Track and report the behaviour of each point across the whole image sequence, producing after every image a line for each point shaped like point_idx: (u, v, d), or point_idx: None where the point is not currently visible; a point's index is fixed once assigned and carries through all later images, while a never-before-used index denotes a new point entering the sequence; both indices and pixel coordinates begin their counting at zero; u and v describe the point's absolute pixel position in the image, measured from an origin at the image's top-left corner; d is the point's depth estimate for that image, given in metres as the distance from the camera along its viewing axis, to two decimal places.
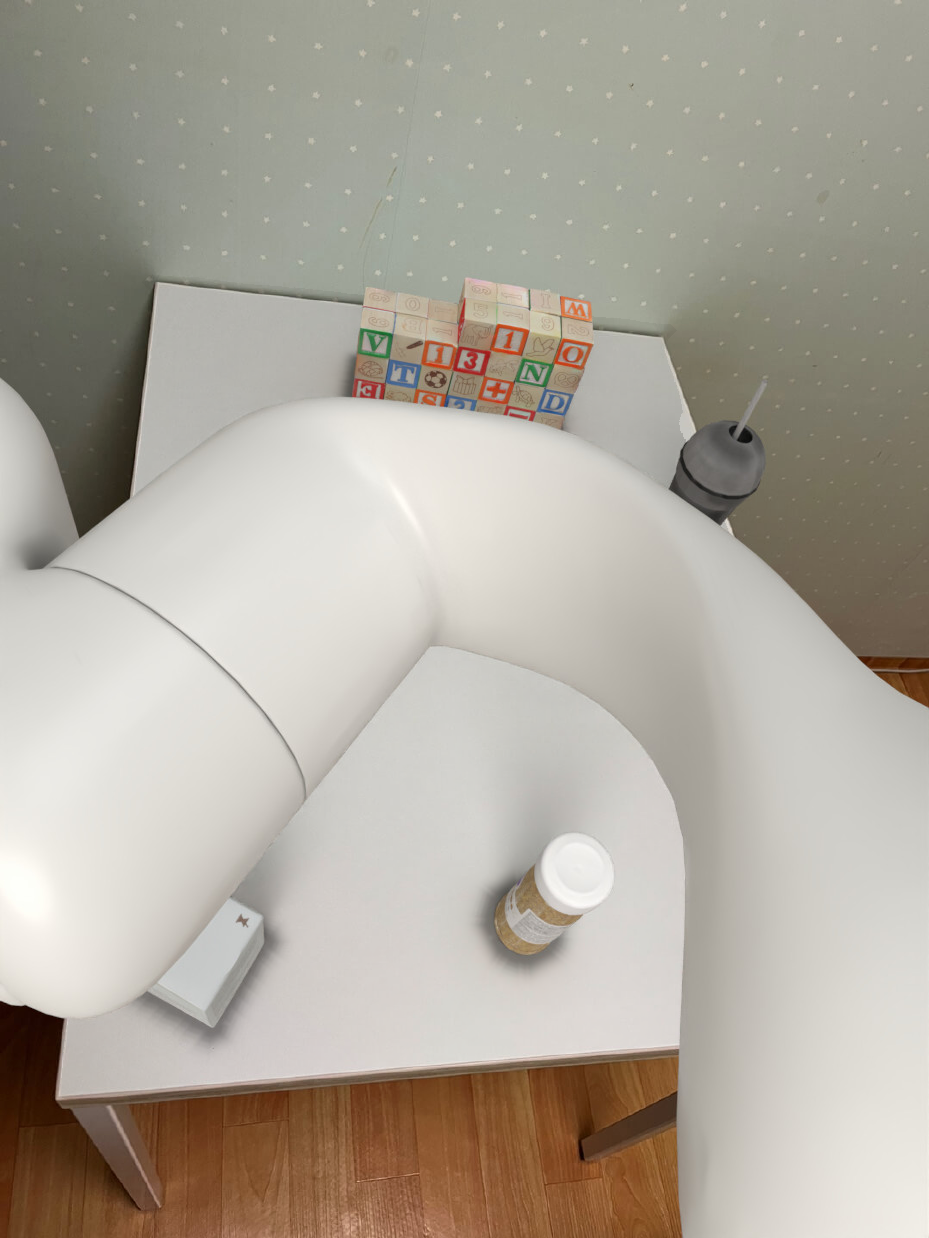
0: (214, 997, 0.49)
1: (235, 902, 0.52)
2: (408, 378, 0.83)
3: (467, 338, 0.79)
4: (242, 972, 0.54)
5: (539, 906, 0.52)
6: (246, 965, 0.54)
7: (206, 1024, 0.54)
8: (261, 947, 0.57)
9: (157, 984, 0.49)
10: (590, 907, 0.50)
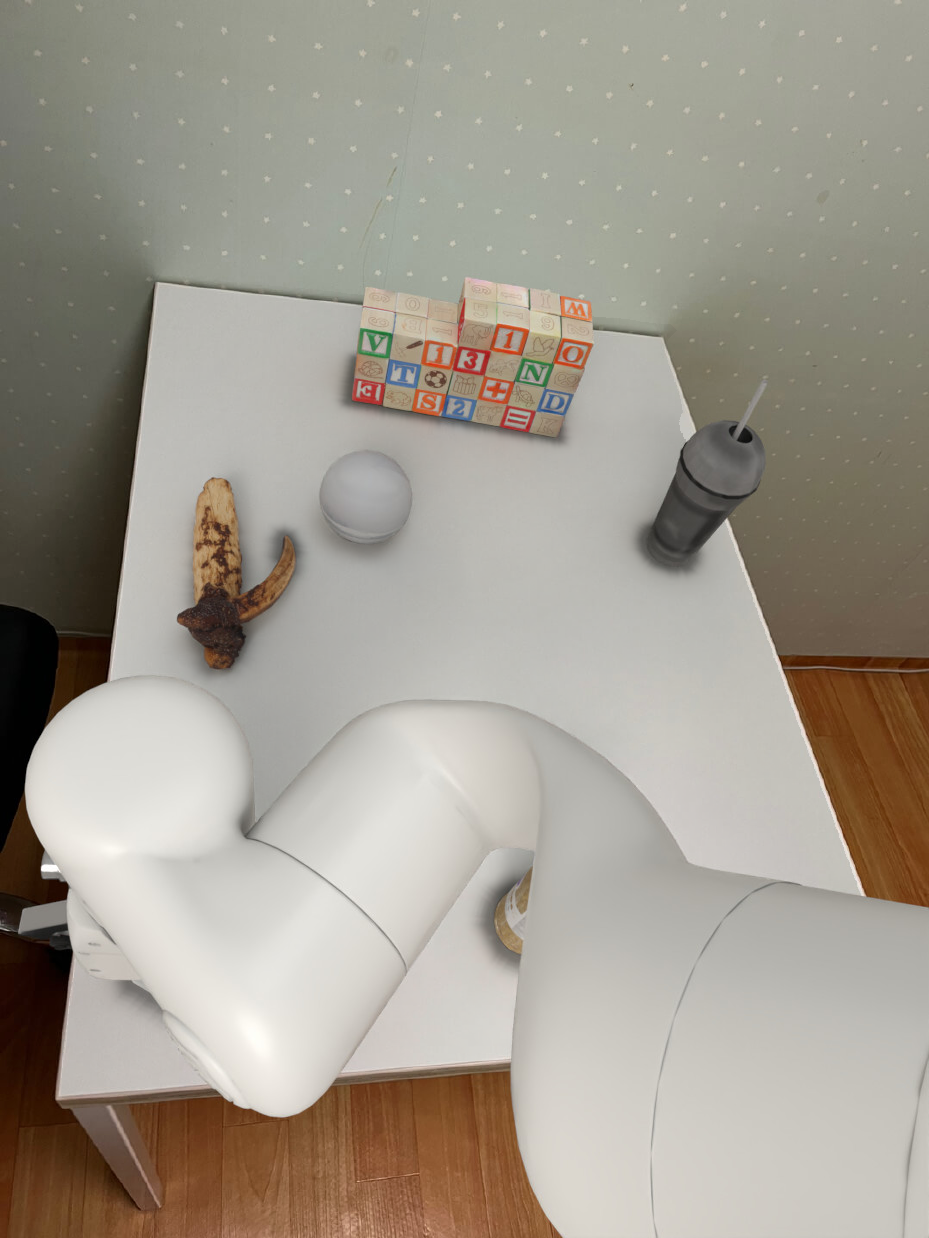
0: None
1: None
2: (408, 378, 0.83)
3: (467, 337, 0.79)
4: None
5: None
6: None
7: None
8: None
9: None
10: None
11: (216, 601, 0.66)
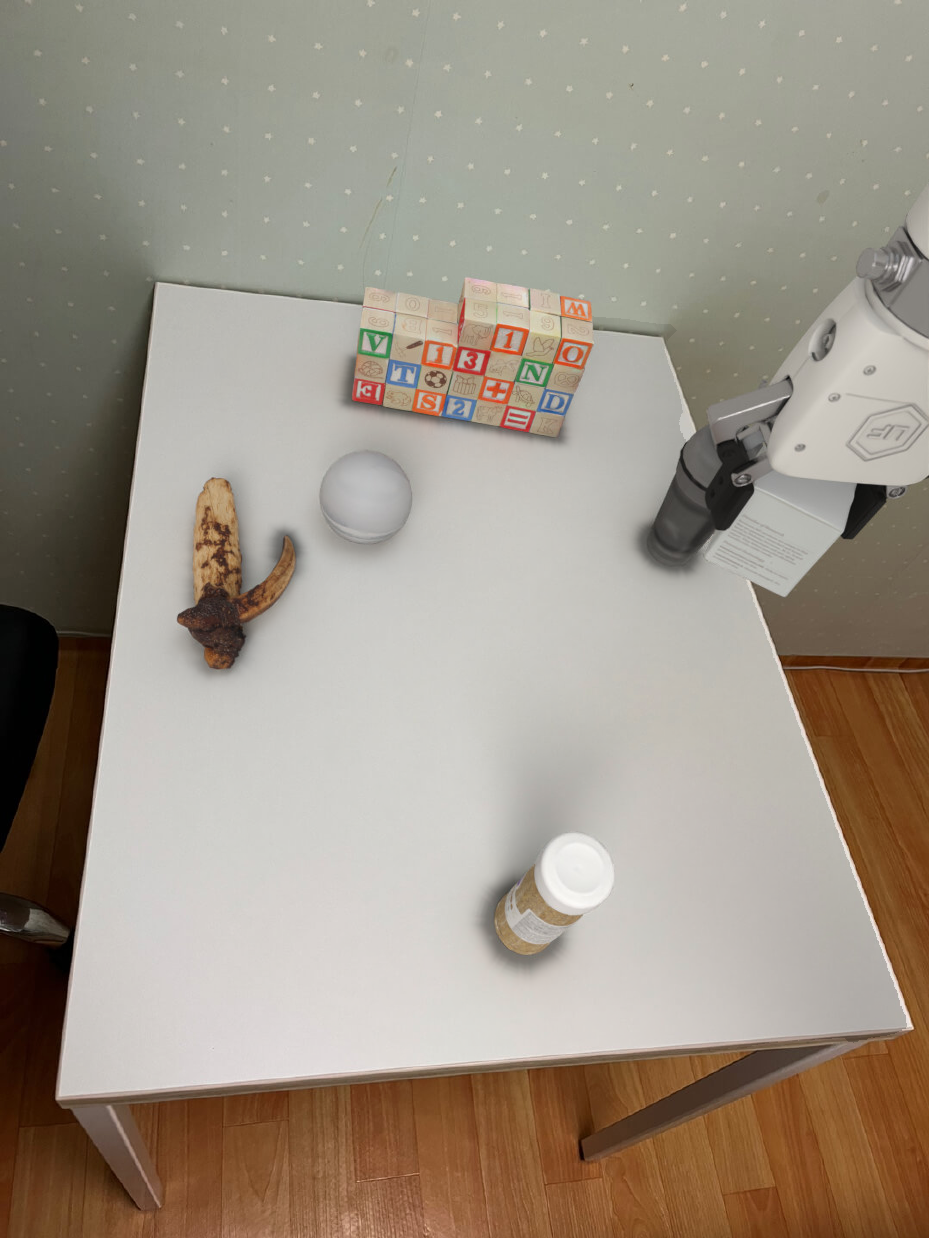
0: None
1: None
2: (408, 378, 0.83)
3: (467, 338, 0.79)
4: None
5: (539, 906, 0.52)
6: None
7: (782, 591, 0.56)
8: None
9: (793, 509, 0.51)
10: (590, 907, 0.50)
11: (216, 601, 0.66)
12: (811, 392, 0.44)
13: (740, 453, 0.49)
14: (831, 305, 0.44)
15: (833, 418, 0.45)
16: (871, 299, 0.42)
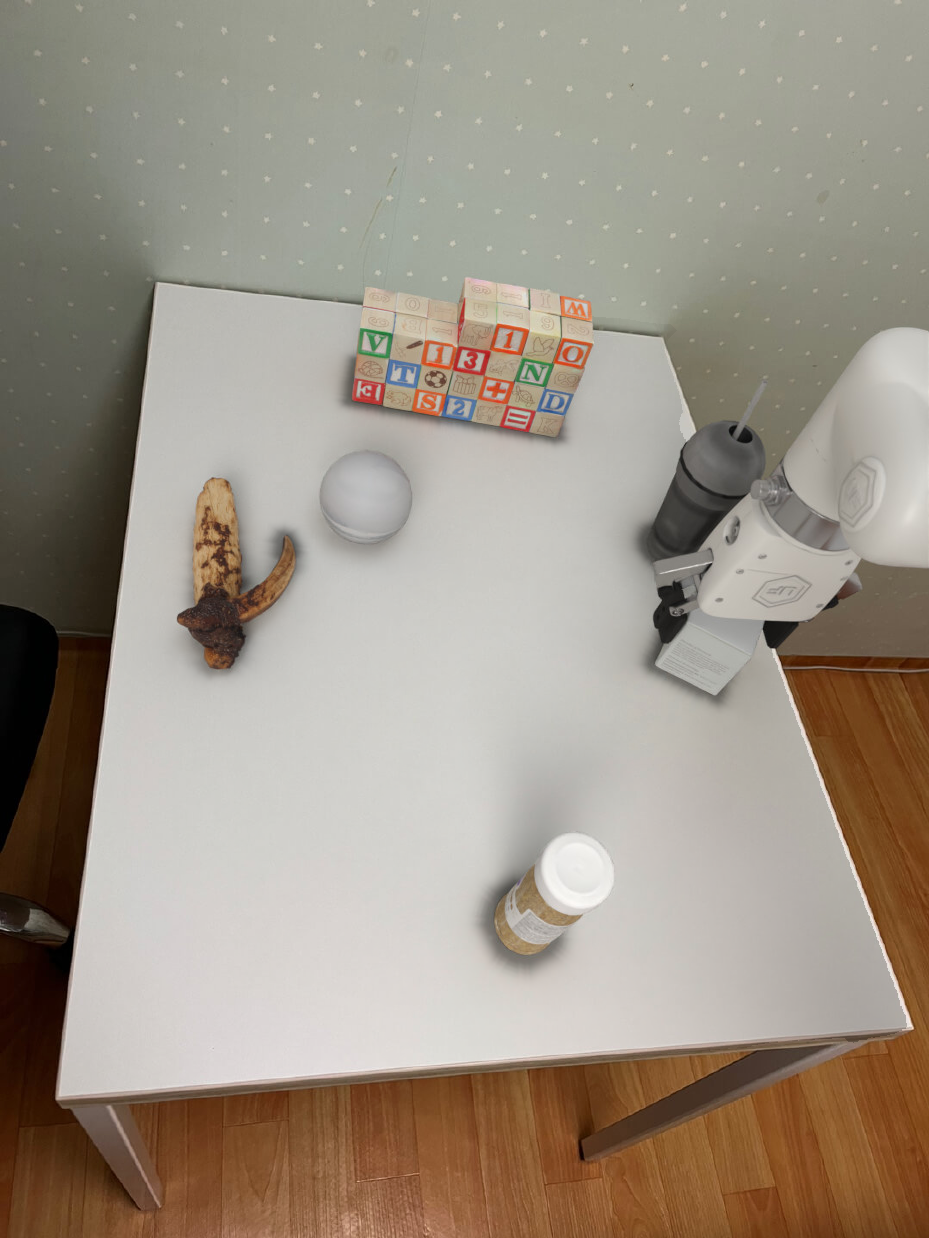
0: (754, 649, 0.70)
1: None
2: (408, 378, 0.83)
3: (467, 337, 0.79)
4: None
5: (539, 906, 0.52)
6: None
7: (713, 691, 0.75)
8: None
9: (716, 639, 0.70)
10: (590, 907, 0.50)
11: (216, 601, 0.66)
12: (724, 565, 0.62)
13: (675, 594, 0.67)
14: (738, 505, 0.62)
15: (740, 583, 0.62)
16: (762, 508, 0.59)
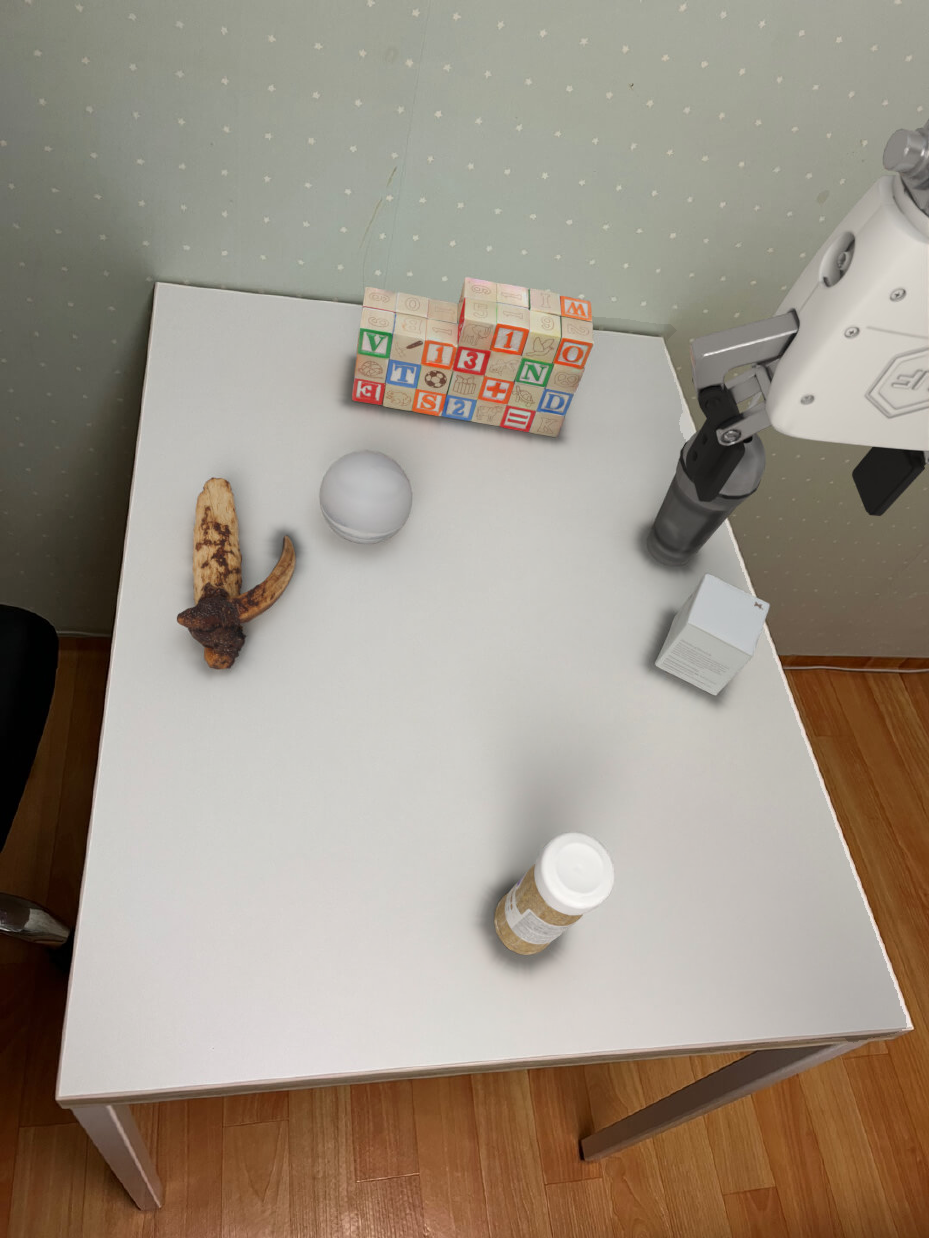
0: (754, 649, 0.70)
1: (749, 594, 0.72)
2: (408, 378, 0.83)
3: (467, 337, 0.79)
4: None
5: (539, 906, 0.52)
6: None
7: (713, 691, 0.75)
8: None
9: (716, 639, 0.70)
10: (590, 907, 0.50)
11: (216, 601, 0.66)
12: (822, 326, 0.35)
13: (727, 402, 0.39)
14: (849, 215, 0.34)
15: (850, 360, 0.35)
16: (901, 202, 0.32)
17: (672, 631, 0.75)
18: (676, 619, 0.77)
